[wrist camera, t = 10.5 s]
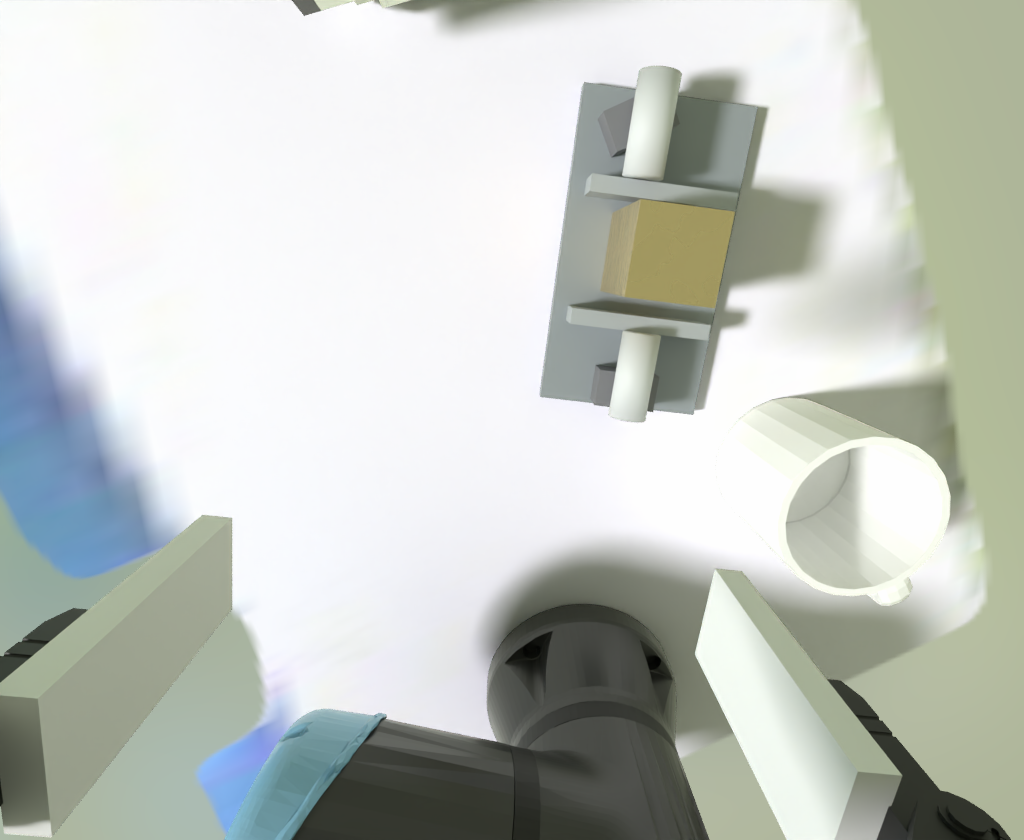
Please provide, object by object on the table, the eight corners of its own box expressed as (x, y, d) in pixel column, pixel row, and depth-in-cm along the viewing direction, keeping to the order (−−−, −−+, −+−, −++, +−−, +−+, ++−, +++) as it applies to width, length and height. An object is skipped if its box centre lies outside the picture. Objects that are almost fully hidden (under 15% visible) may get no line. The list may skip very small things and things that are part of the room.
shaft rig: (689, 411, 42) (715, 431, 37) (539, 393, 42) (545, 412, 36) (751, 110, 37) (791, 84, 32) (582, 86, 37) (595, 56, 31)
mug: (691, 441, 43) (747, 494, 33) (814, 370, 42) (911, 403, 32) (764, 570, 46) (837, 654, 36) (881, 507, 44) (990, 576, 35)
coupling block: (672, 300, 39) (714, 308, 31) (600, 290, 39) (624, 296, 31) (687, 222, 38) (735, 211, 30) (612, 212, 38) (640, 198, 30)
